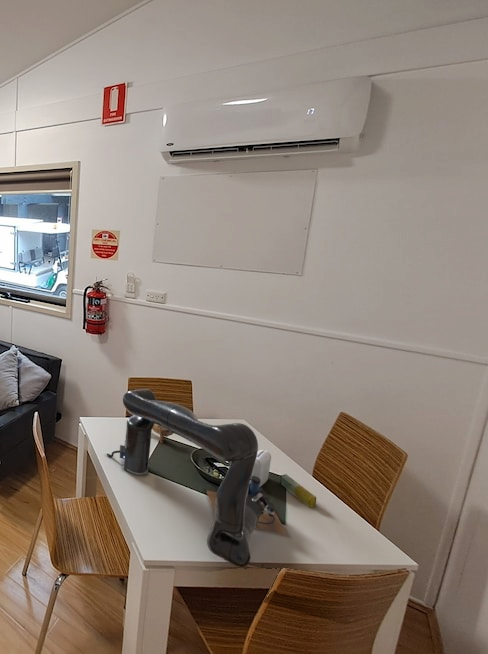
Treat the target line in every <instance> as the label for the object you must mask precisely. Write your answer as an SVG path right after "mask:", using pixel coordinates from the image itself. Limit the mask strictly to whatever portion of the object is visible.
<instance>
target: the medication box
mask: <svg viewBox="0 0 488 654" xmlns="http://www.w3.org/2000/svg"><path fill="white" fill-rule="evenodd" d="M280 485H281V486H283V487H284V488H285V489H286V490H287V491H289V492H290V493H291V494H292V495H293V496H294V497H296V498H297V499H298V500H299V501H300V502H302V503H303V504H304V505H306V506H307V507H308V508H309V509H314V508H316V507H317V498H318V497H317V496H316V495H314V494H313V493H312V492H310V491H309V490H308V489H306V488H305V487H304V486H303V485H301V484H300V483H298V482H297V481H296V480H295V479H293V478H292V477H291V476H289V475H288V474H281V475H280Z"/></svg>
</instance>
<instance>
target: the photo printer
mask: <svg viewBox="0 0 488 654" xmlns="http://www.w3.org/2000/svg"><path fill="white" fill-rule="evenodd" d="M271 461H272V455H271V453H270V452H269V451H268V450H266V449H260V450H258V452H257V457H256V460H255V464H254V467H253V471H252V475H251V476H256V477H258V478H260V480H261V482H260V486H259V488H260V487H261V488H262V487H263V485H264V484H266V482H267V481H268V480H269V477H270V468H271ZM250 483H251V480H250ZM250 483H249V484H250Z"/></svg>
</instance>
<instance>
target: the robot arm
mask: <svg viewBox="0 0 488 654" xmlns="http://www.w3.org/2000/svg"><path fill="white" fill-rule="evenodd" d="M122 403H123V407H124V408H125V410H126V411H127V412H128V413H129V414H130V415H131V416H129V417H128V418H127V420H126V426H125V427H126V428H125V439H124V442H123V443H124V445H122V444H119V450H114V451H112V452H111V454H110V453H106V456H107V457H109V458H112V457H114V454H119V459H122V466H123V471H126V472H128V473H130V474H132V475H135V476H145V475H147V474H148V473H149V465H150V461H151V460H150V452H151V443H152V442H151V441H152V432H153V429H152V428H153V426H154V423H155V424H157V425H159V426H161V427H163V428H165V429H167V430H168V431H170V432H172V433H173V434H174V435H177V436H179V437H181V438H183V439H185V440H186V441H189V442H191V443H193V444H195V445H197V446H198V447H200V448H201V449H203V450H204V451H205V452H207V453H208V454H210V455H212V456H213V457H215V458H217V459H219V460H220V461H224V462H230V464H229V467H228V468H227V471H226V474H225V476H224V478H223V479H222V480H221V483H220V485H219V487H218V489H217V491H216V492H217V495H216V502H215V513H214V518H213V522H212V525H211V526H210V529H209V531H208V533H207V535H206V539H205V541H206V546H207V548H208V550H209V551H210V553H212V554H213V555H215V556H217V557H219V558H221V559H222V560H224V561H226V562H228V563H230V564H232V565H233V566H236V567H239V568H245V567H247V566H248V565H249V564H250V562H251V547H250V539H251V536H252V533H253V532H254V530H255V529H256V528H255V527H256V526H257V522H258V520H259V517H260V515H261V514H263V513H268V515H269V516H271V517H273V514H274V511H275V508H274V506H273V505H272V502H271V500H270V499H269V497H267V496H265V489H263V487H262V486H261V487H259V491H258V494H257V495H255V496H254V497H252V496H250V495H249V493H250V485H251V483H250V479H251V475H252V471H253V467H254V464H255V460H256V457H257V452H258V451H259V443H258V442H259V441H258V438H257V436H256V434H255V432H254V431H253V429H252V428H250V426H248V425H247V424H245V423H240V422H234V423H232V422H231V423H225V424H215V425H214V424H208V423H207V422H203V421H200V420H198V417H197V416H196V414H195V413H194V412H193V410H191V409H189V408H188V407H185V406H183V405H181V404H178V403H175V402H171V401H165V400H164V401H163V400H157V397H156V395H155V393H154V392H153V390H151V389H149V388H142V389H132V390H128V391H126V392H125V393H124V394H123V396H122ZM206 423H207V424H206ZM249 483H250V484H249ZM261 502H263V504H264V507H265V508H264V507H263V506H262V505H261Z"/></svg>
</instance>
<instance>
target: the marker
mask: <svg viewBox="0 0 488 654" xmlns="http://www.w3.org/2000/svg"><path fill="white" fill-rule="evenodd" d="M260 482H261V480H260V478H258V477H256V476H252V477H251V485H250V493H249V494H248V495H250V496H252V497H254V496H255V495H257V494H258V491H259V489H260V487H259V486H260Z"/></svg>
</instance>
